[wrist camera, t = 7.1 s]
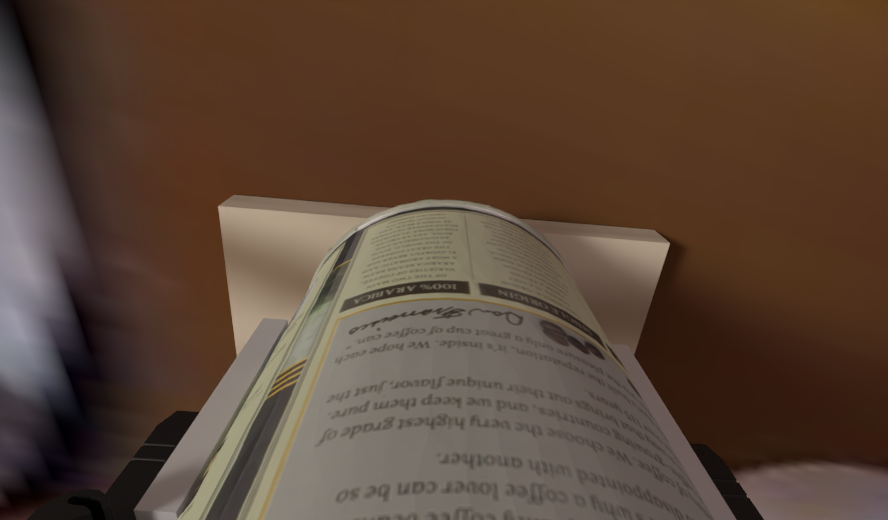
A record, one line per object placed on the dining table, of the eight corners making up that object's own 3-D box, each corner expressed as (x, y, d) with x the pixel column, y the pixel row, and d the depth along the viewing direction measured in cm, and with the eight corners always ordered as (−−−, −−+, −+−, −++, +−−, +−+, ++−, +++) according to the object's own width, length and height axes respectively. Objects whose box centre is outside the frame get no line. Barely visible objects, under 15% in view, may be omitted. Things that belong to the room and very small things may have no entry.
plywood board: (233, 194, 19) (217, 206, 18) (654, 230, 20) (670, 243, 18) (268, 514, 27) (259, 539, 26) (563, 531, 28) (569, 556, 27)
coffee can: (573, 428, 19) (842, 1209, 6) (328, 436, 19) (94, 1211, 6) (597, 187, 15) (1627, 1102, 2) (280, 201, 15) (-721, 1118, 2)
